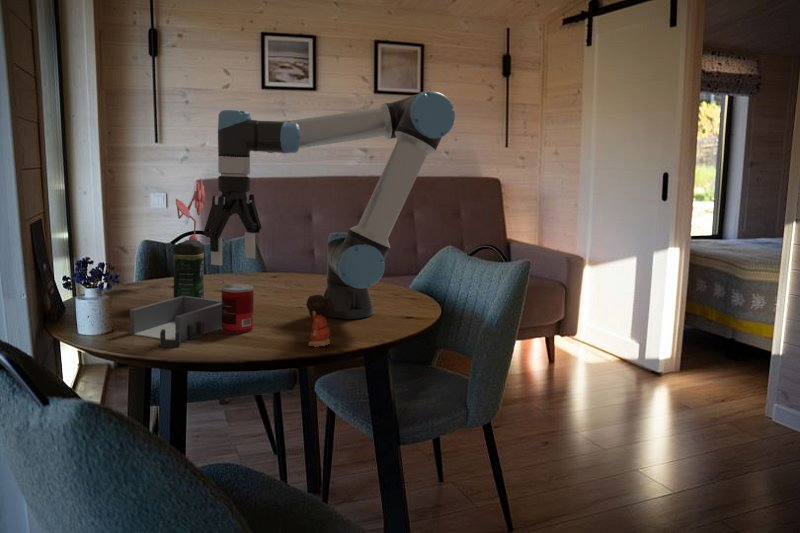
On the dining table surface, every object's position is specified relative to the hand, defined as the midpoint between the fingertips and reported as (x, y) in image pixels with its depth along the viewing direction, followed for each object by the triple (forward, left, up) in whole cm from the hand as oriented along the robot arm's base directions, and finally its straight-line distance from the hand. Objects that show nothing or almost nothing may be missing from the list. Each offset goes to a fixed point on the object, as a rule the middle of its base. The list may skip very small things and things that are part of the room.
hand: (233, 261), depth 165 cm
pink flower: (+43, -44, -17) cm, 64 cm away
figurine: (-26, +3, -17) cm, 31 cm away
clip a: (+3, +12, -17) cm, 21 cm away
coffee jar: (+26, -16, -17) cm, 35 cm away
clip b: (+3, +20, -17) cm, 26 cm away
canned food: (-2, +1, -17) cm, 17 cm away
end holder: (+10, +7, -17) cm, 21 cm away
